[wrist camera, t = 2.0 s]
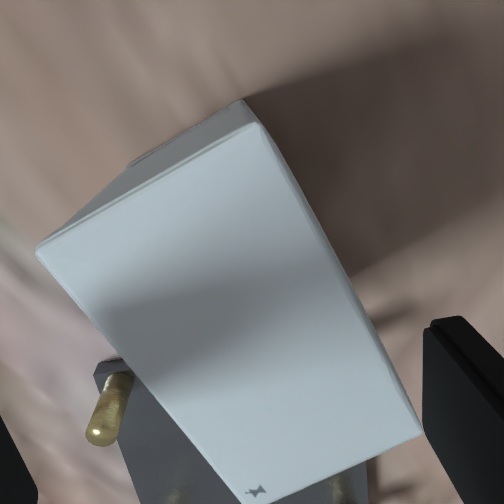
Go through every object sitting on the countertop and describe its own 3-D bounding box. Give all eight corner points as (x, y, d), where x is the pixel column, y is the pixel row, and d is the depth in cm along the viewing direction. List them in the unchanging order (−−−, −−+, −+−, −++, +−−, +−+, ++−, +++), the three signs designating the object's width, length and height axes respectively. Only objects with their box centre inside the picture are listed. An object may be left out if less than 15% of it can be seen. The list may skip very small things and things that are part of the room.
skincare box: (346, 279, 22) (435, 441, 13) (237, 333, 23) (242, 521, 14) (247, 90, 18) (265, 113, 9) (122, 164, 19) (14, 258, 10)
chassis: (353, 324, 23) (379, 379, 19) (365, 511, 29) (388, 584, 25) (98, 362, 23) (69, 425, 19) (162, 540, 29) (150, 617, 25)
